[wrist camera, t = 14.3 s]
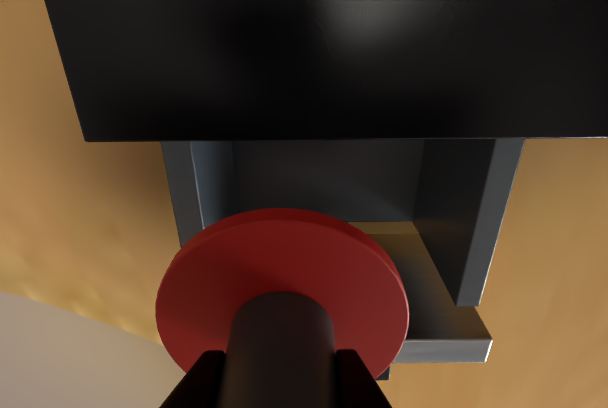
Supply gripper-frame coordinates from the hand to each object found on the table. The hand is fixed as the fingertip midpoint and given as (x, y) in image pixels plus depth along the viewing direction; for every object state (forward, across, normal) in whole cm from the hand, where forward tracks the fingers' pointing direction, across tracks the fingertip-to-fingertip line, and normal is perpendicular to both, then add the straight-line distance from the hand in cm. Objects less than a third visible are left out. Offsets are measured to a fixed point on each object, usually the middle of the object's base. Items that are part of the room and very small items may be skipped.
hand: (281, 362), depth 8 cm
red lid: (+2, 0, 0) cm, 2 cm away
